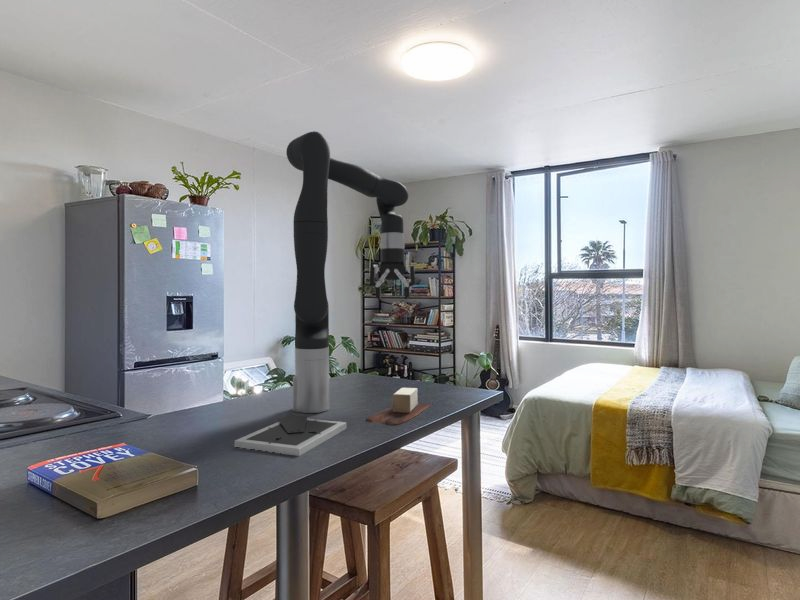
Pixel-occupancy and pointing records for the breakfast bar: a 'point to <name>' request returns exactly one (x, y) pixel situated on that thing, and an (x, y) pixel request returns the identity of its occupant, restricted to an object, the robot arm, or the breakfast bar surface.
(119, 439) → the breakfast bar surface
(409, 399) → the cream block
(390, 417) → the wooden tablet
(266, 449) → the picture frame
